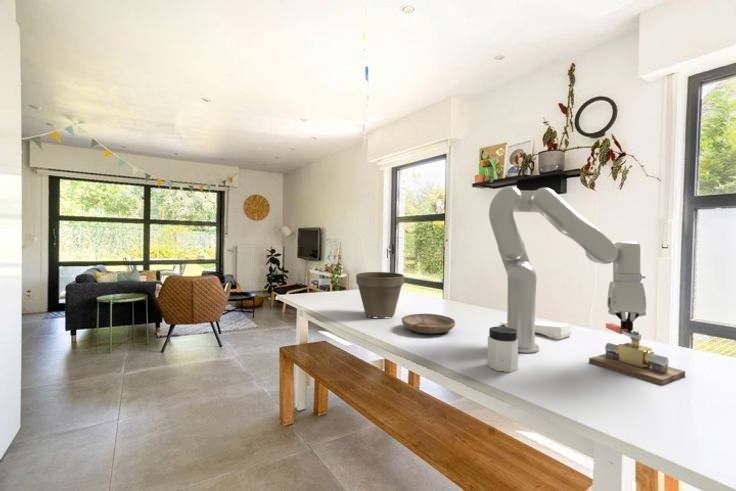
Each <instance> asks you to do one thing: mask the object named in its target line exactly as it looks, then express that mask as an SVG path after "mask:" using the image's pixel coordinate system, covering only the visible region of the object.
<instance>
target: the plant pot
mask: <svg viewBox="0 0 736 491" xmlns="http://www.w3.org/2000/svg"><path fill="white" fill-rule="evenodd" d="M355 276H356V278H355V279H356V284H357V285H358V290H359V295H360V298H361V303H362V307H363V309H364V310H363V311H364V314H365V316H366V315H367V316H370V317H377V318H385V317H391V316H393V317H394V315H395V313H396V309H397V305H398V302H399V298H400V294H401V290H402V286H403V285H404V282H405V275H404V274H403V273H399V272H391V271H390V272H388V271H367V272H359V273H356V274H355ZM367 316H366V317H367ZM391 318H392V317H391Z"/></svg>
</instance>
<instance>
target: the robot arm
mask: <svg viewBox="0 0 736 491" xmlns="http://www.w3.org/2000/svg"><path fill="white" fill-rule="evenodd" d="M488 210H489V211H488V218H489V222H490V223H489V224H490V227H491V230H492V232H493V236H494V239H495V242H496V245H497V250H498V253H499V255H500V259H501V261H502V263H503V266H504V269H505V272H506V275H507V293H506V294H507V296H506V297H507V298H506V299H507V300H506V301H507V302H506V305H507V306H506V308H507V309H506V311H507V314H506V319H507V320H506V321H507V327H508V328H512V329H515V330H516V331H517V339H518V353H525V354H528V353H529V354H531V353H537V352H539V351H540V346H539V344H537V343H536V341H535V340H536V332H535V322H536V292H537V279H538V277H537V273H536V271H535V268H534V267H533V266H532V264H531V262H530V258H529V255H528V253H527V249H526V245H525V242H524V240H523V238H522V236H521V234H520V232H519V229H518V227H517V223H516V220H515V217H514V213H516V212H518V213H539V214H540V215H541V216H543V218H545V219H546V220H547V221H548V222H549V223H550V224H551V225H552V226H553V227H554V228H555V229H556V230H557V231H558V232H559V233H561V234H563V235H564V236H566V237H567V238H569V239H571V240H573V241H574V242H575V243H576V244H578V246H580V247H581V248H582V249H583V250H584V253H585V256H586V257H587V259H588V260H589V261H591V262H593V263H596V264H601V265H609V264H611V263H612V281H610V282H609V285H608V291H607V301H606V305H607V308H608V310H607V313H608V314H609V315H612V316H616V317H617V318H619V320H620V326H621V327H623V328H625V329H628V331H629V332H632V331H634V322H635V320H636V319H637V318H639V317H644V316H645V317H646V316H647V311H646V310H647V298H646V292H645V287H644V283H643V282H642V280H644V279H645V280H646V275H645V274H642V273H641V244H640V243H639V242H638V241H617V242H613V241H611V239H610V238H608V237H607V236H606V235H605V233H604V232H601V231H600V230H599V229H598V228H597V227H596V226H595V225H594V224H593V223H591V222H589V221H588V220H587V219H586V218H585V217H583V216H582V215H581V214H579V213H578V212H577V211H576V210H575V209H574V208H573V207H571V205H569V204H568V203H567V202H566V201H565V200H564V199H563V198H562V197H561V196H560V195H559V194H558V193H556V192H555V190H553V189H551V188H549V187H540V188H538V189H536V190H520V189H519V188H517V187H515V186H510V185H509V186H505V187H503V188H501V189H499V191H498V192H497V193H496V194H495V195H494V197H493V198H492V200H491V202H490V204H489V209H488ZM626 313H627V315H626Z"/></svg>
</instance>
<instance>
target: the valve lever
mask: <svg viewBox="0 0 736 491" xmlns="http://www.w3.org/2000/svg"><path fill="white" fill-rule="evenodd" d="M605 328H606V329H607V330H609V331H612V332H615V333H617V334H619V335H625V336H627V337H629V339H630V340H631V339H633V340H639V341H641V340H642V334H640V332H639V331H636V330H632V332H629V331H628V329H625V328H623V327H621V325H618V324H615V323H609V322H608V323H605Z"/></svg>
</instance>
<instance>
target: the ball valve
mask: <svg viewBox="0 0 736 491" xmlns="http://www.w3.org/2000/svg"><path fill="white" fill-rule="evenodd" d="M630 342H631V343H630ZM630 342H625V343H620V344H614V343H610V342H607V343H606V344H605V347H604V348H605V349H604V350H605V354H606V358H608V359H612V360H615V359H619V361H620V362H624V363H627V364H631V365H634V366H638V367H641V368H643V367H646V366H652V371H654V372H657V373H661V374H662V373H665V372H667V369H668V367H669V358H668V357H666V356H663V355H659V354H655V352H654V351H652V350H653V349H652V347H648V346H643V345H640V340H633V339H630Z"/></svg>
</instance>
